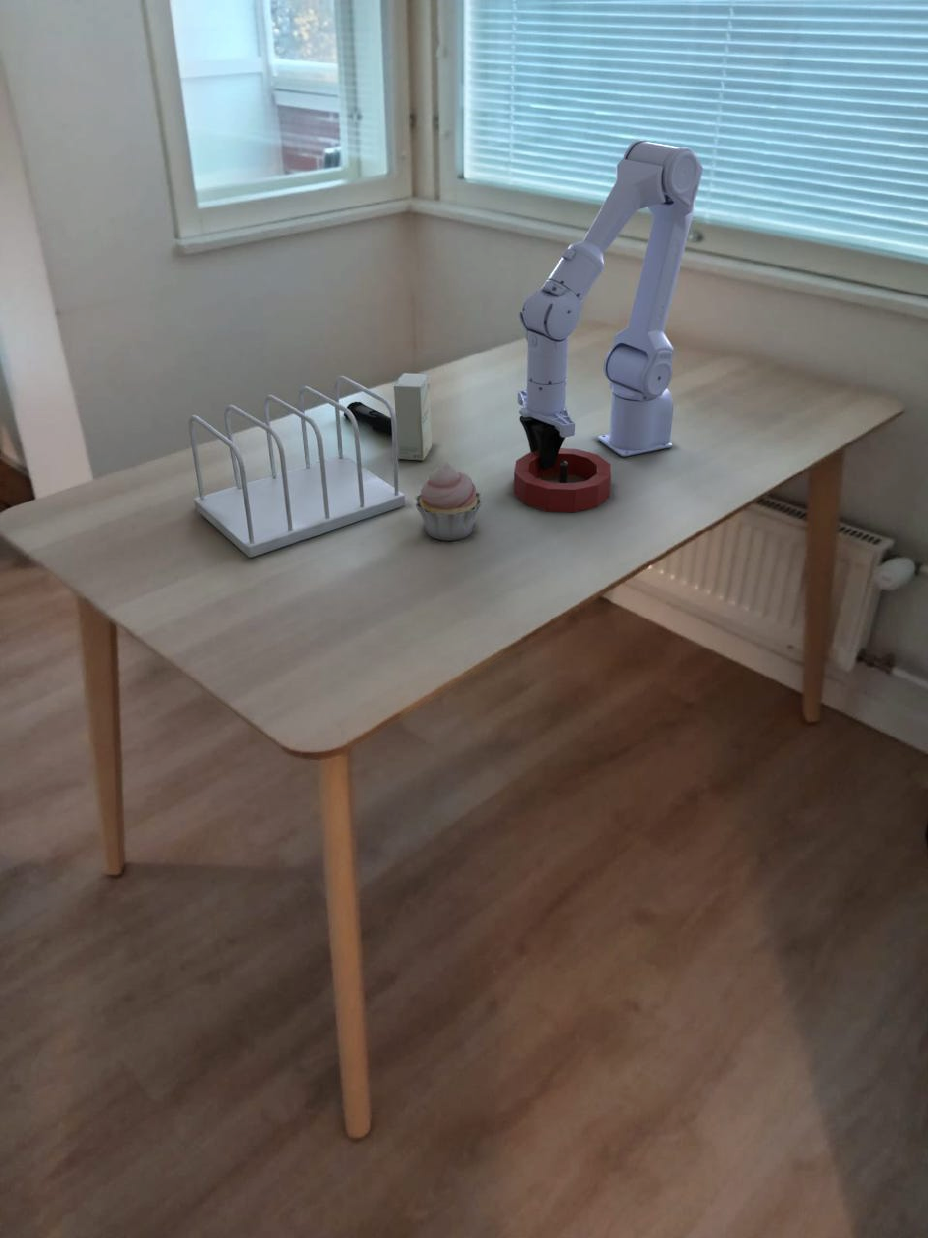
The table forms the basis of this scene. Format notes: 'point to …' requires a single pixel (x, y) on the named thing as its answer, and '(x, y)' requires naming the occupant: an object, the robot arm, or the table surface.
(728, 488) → the table surface
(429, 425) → the cosmetic box
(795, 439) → the table surface
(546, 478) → the peg stand
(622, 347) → the robot arm
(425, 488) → the cupcake
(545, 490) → the ring
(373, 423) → the electric trimmer
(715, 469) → the table surface
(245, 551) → the file sorter
